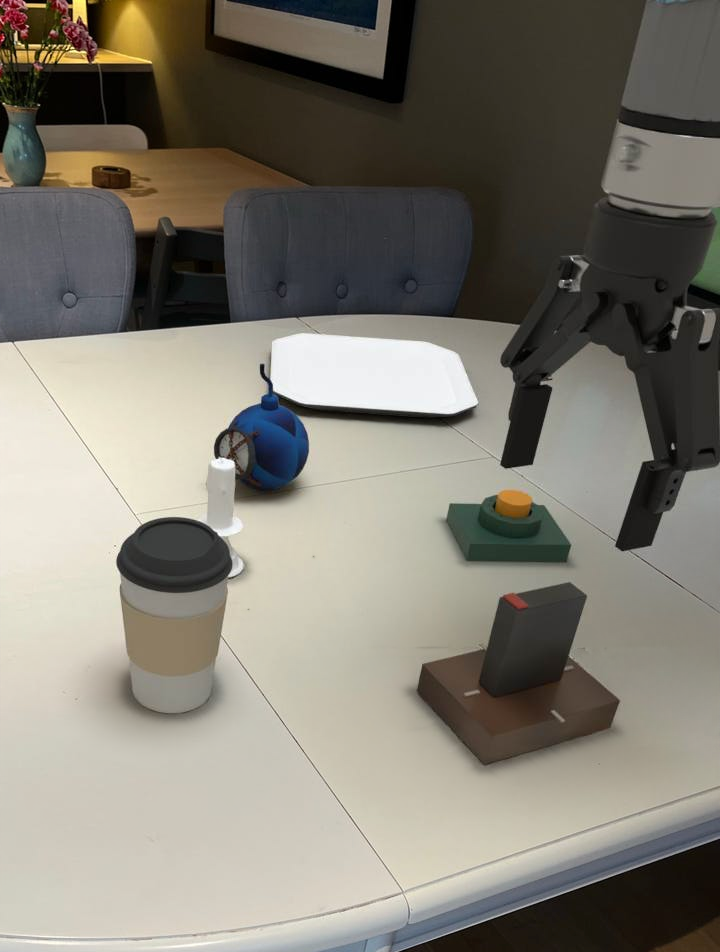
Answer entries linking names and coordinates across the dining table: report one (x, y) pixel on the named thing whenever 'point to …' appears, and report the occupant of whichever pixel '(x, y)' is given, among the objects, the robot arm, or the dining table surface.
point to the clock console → (514, 707)
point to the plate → (370, 376)
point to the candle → (223, 506)
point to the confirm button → (513, 504)
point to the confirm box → (506, 534)
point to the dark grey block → (531, 638)
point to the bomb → (265, 443)
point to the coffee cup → (173, 610)
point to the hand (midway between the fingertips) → (570, 503)
